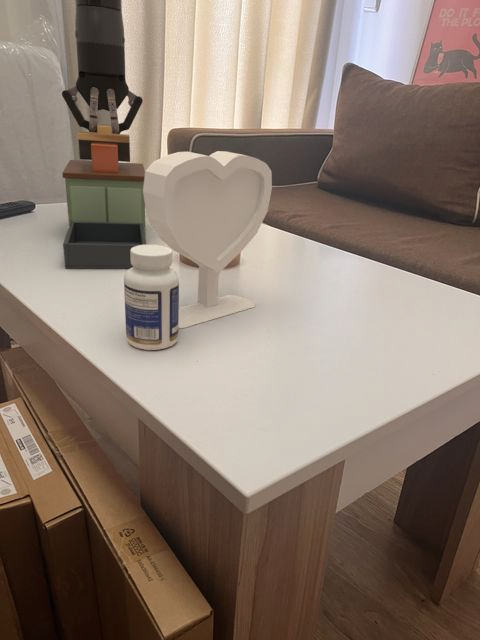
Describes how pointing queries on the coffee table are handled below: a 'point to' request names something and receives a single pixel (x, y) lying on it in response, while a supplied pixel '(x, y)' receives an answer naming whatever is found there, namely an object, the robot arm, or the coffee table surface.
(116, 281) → the coffee table surface
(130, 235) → the tray
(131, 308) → the pill bottle
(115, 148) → the block
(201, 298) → the heart sculpture
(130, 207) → the cabinet
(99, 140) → the brush
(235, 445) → the coffee table surface
